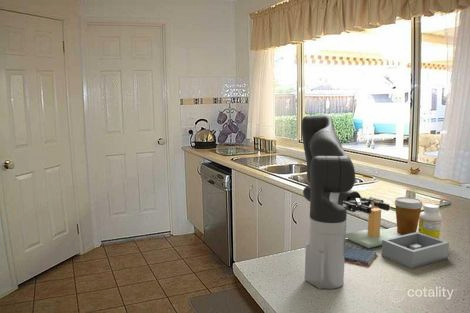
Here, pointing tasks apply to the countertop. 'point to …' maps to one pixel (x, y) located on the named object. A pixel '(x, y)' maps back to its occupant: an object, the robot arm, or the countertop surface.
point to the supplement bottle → (430, 221)
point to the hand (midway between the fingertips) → (379, 209)
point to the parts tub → (415, 249)
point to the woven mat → (359, 256)
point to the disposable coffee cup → (407, 214)
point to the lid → (371, 232)
